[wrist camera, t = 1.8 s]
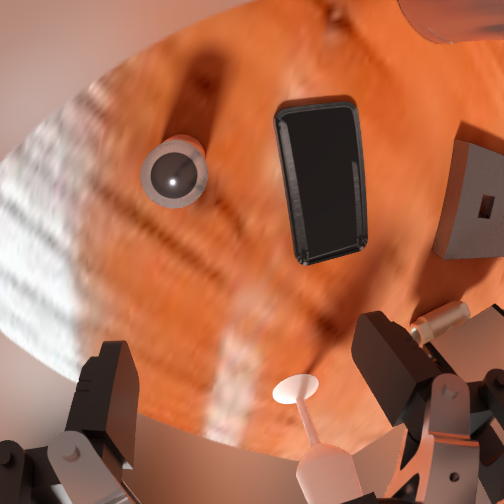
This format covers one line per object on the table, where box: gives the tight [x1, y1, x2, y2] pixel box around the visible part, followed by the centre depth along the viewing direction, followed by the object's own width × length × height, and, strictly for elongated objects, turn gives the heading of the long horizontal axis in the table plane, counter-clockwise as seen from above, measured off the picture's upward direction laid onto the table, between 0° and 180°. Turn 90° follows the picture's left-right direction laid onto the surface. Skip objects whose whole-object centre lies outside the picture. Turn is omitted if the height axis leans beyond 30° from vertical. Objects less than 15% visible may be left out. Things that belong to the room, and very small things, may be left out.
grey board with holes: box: [432, 139, 504, 260], centre depth 31 cm, size 14×24×2 cm, turn 87°
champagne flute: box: [273, 374, 363, 504], centre depth 29 cm, size 7×7×24 cm
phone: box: [273, 101, 368, 265], centre depth 27 cm, size 8×1×15 cm
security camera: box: [410, 301, 504, 383], centre depth 31 cm, size 18×8×18 cm, turn 103°
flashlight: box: [141, 134, 208, 208], centre depth 21 cm, size 4×4×8 cm
